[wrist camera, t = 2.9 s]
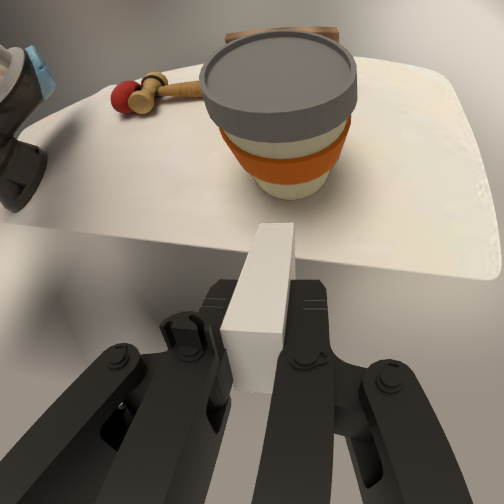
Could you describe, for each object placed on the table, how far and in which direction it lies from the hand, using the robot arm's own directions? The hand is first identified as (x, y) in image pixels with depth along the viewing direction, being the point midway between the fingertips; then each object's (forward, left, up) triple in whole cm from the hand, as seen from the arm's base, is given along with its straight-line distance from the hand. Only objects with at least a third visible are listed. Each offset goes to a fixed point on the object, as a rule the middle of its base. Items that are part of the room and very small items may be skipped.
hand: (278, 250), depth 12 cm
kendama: (-21, +31, -16) cm, 40 cm away
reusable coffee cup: (0, +15, -15) cm, 21 cm away
